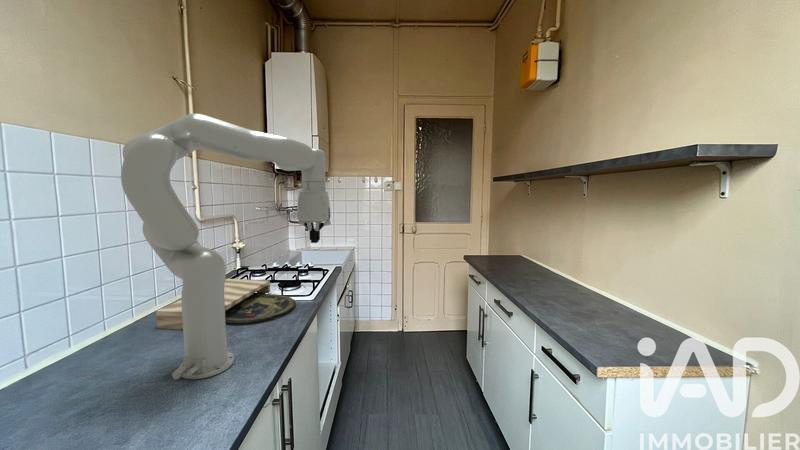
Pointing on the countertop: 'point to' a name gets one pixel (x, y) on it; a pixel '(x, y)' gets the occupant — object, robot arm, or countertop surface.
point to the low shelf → (232, 295)
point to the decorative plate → (259, 309)
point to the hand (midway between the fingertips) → (314, 242)
